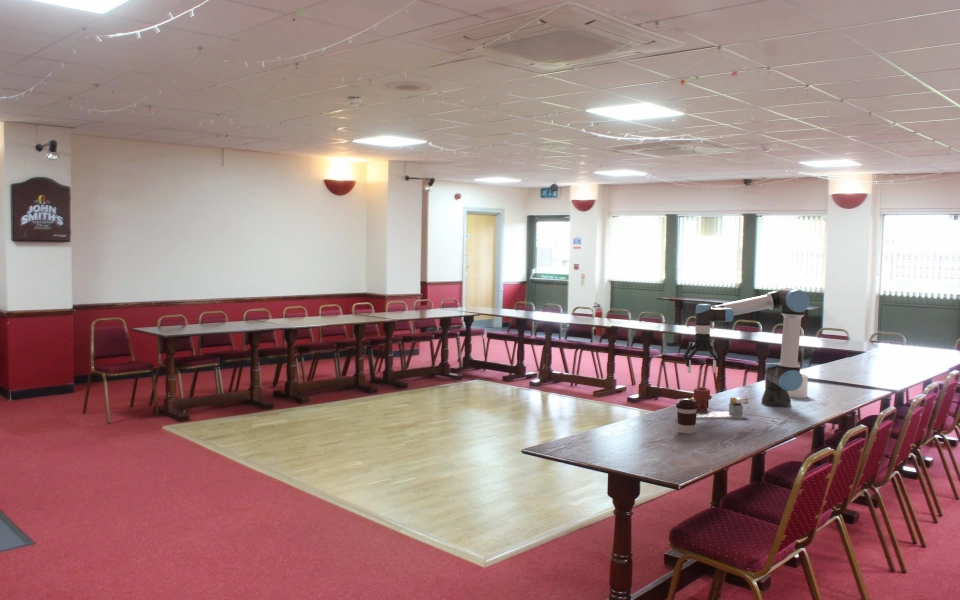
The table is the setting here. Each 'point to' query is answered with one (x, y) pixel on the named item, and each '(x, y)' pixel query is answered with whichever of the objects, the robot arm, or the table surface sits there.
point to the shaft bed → (733, 412)
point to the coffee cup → (686, 416)
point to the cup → (800, 389)
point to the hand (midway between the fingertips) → (701, 372)
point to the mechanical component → (702, 398)
